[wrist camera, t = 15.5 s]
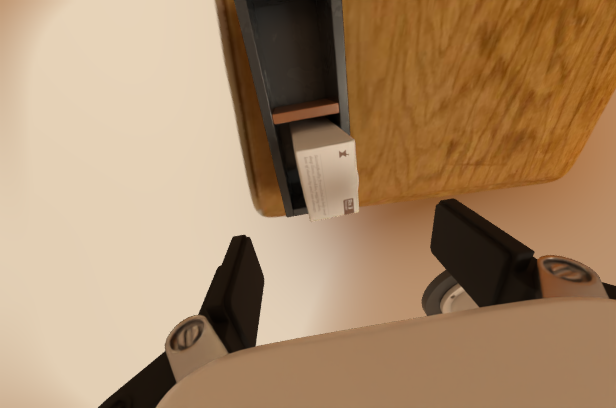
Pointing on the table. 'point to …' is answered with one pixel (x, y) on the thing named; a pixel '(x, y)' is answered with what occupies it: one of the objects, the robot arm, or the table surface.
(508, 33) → the table surface
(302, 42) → the caddy
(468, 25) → the table surface
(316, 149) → the cosmetic box
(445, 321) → the robot arm
